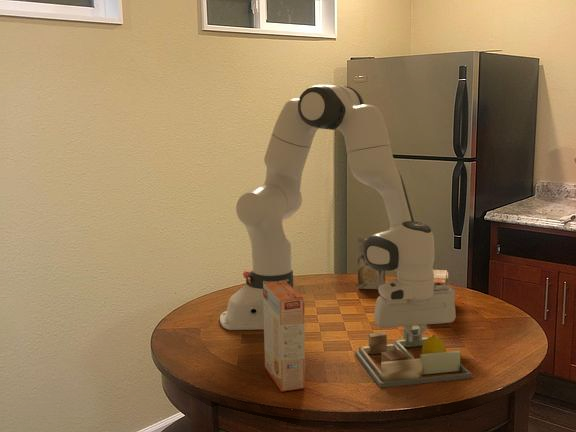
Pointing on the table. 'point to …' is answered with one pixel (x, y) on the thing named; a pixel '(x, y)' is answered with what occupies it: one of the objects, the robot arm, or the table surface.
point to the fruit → (433, 345)
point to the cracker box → (284, 335)
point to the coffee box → (367, 271)
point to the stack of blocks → (440, 278)
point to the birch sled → (390, 368)
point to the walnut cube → (393, 356)
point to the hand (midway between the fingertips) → (414, 341)
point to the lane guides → (464, 375)
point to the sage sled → (431, 356)
